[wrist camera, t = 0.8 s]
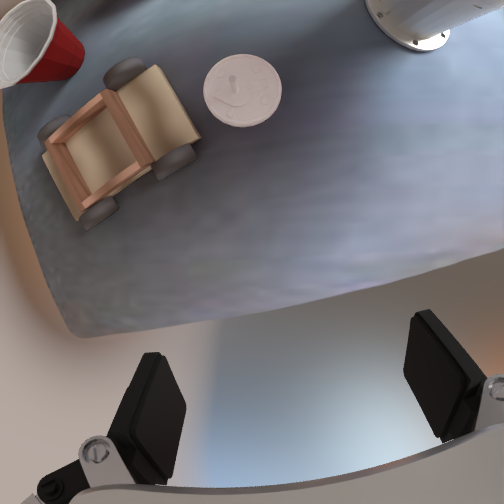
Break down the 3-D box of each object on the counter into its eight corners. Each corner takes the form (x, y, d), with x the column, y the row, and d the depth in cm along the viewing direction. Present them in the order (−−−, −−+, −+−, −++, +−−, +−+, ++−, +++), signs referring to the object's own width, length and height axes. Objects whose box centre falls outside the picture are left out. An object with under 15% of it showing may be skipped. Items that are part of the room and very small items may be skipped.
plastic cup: (115, 61, 28) (64, 34, 17) (53, 113, 30) (-8, 111, 19) (88, 9, 25) (40, -23, 14) (31, 59, 27) (-25, 46, 16)
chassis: (154, 58, 29) (139, 45, 23) (209, 151, 33) (201, 152, 27) (46, 143, 31) (22, 146, 26) (92, 228, 35) (71, 241, 30)
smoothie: (209, 86, 30) (182, 50, 17) (265, 72, 29) (274, 26, 16) (224, 139, 32) (206, 133, 19) (280, 124, 32) (300, 109, 18)
